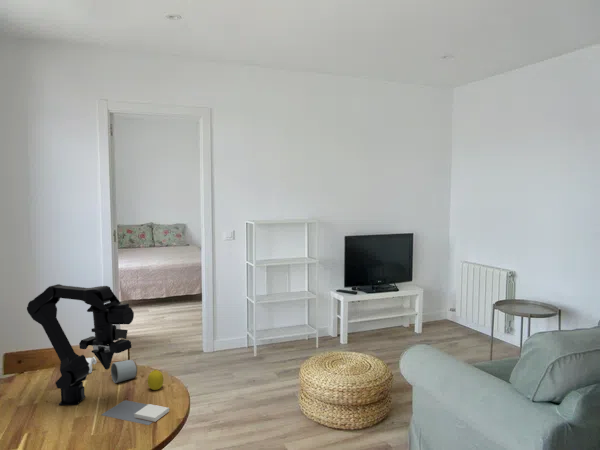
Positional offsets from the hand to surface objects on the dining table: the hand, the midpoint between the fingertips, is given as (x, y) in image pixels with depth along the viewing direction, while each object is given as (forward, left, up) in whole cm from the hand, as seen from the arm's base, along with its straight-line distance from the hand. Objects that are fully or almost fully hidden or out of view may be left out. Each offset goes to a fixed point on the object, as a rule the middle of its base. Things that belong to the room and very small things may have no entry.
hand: (107, 369), depth 152 cm
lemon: (+13, +11, -13) cm, 22 cm away
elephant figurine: (-20, +30, -13) cm, 39 cm away
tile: (+13, -7, -11) cm, 19 cm away
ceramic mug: (-3, +23, -13) cm, 26 cm away
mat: (+11, -6, -13) cm, 18 cm away
